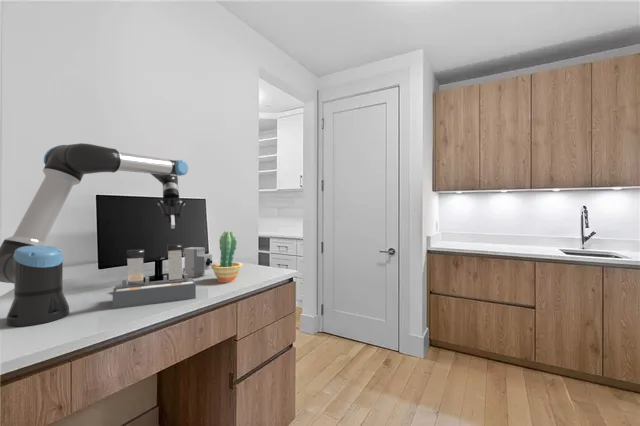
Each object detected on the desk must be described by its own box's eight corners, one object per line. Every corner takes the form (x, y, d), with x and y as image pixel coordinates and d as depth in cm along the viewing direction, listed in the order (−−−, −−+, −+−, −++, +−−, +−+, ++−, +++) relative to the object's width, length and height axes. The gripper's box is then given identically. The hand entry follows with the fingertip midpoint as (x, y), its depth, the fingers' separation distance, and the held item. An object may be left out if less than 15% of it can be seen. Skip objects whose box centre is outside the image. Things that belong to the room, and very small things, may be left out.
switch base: (112, 308, 110) (112, 284, 110) (116, 300, 120) (116, 277, 120) (195, 298, 123) (195, 276, 123) (192, 291, 134) (192, 270, 134)
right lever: (168, 279, 122) (167, 244, 128) (167, 281, 125) (167, 246, 130) (183, 278, 125) (182, 243, 131) (182, 280, 128) (181, 245, 133)
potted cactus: (247, 278, 160) (248, 230, 160) (232, 285, 145) (232, 232, 145) (221, 276, 164) (222, 230, 164) (204, 282, 149) (204, 232, 149)
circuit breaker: (207, 277, 160) (207, 249, 160) (183, 276, 163) (183, 248, 163) (214, 274, 167) (214, 247, 167) (191, 273, 170) (191, 247, 170)
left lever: (127, 287, 116) (126, 253, 110) (127, 282, 118) (126, 248, 112) (144, 285, 118) (143, 252, 113) (144, 280, 121) (144, 247, 115)
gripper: (184, 198, 164) (187, 231, 150) (156, 198, 158) (157, 232, 144) (185, 188, 159) (188, 221, 145) (156, 187, 153) (157, 221, 139)
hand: (173, 226), depth 144 cm, fingers closed
